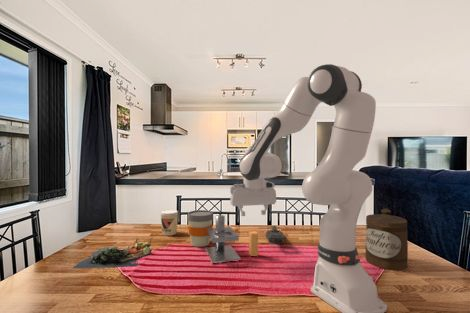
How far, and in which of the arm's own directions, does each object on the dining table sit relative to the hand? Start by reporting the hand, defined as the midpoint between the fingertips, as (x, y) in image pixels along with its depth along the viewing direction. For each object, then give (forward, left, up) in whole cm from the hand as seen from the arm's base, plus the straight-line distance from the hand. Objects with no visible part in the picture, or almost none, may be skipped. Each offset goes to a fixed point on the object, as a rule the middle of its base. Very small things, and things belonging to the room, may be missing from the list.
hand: (253, 215), depth 112 cm
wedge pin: (0, 0, -18) cm, 18 cm away
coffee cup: (+41, +34, -18) cm, 56 cm away
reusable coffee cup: (+21, +20, -18) cm, 34 cm away
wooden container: (-21, -50, -18) cm, 57 cm away
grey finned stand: (+4, +13, -17) cm, 22 cm away
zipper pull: (+12, -17, -18) cm, 27 cm away
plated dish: (+15, +55, -19) cm, 60 cm away
